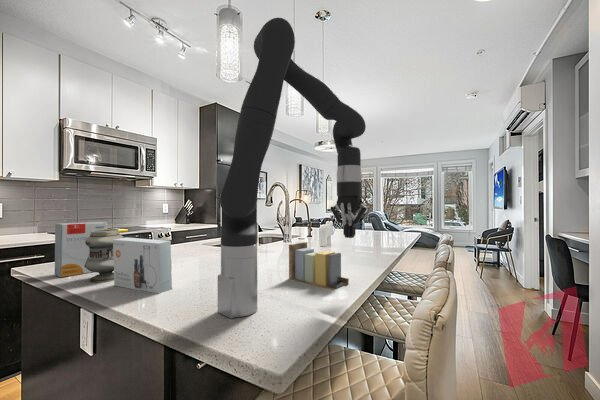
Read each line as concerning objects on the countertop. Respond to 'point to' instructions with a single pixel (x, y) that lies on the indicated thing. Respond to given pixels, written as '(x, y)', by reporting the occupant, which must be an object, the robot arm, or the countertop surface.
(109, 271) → the apothecary jar
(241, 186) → the robot arm
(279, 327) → the countertop surface
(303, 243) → the book trough
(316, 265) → the book ochre
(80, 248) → the hard drive box
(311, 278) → the book sage
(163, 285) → the skincare box
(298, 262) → the book slate
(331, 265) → the bookend
